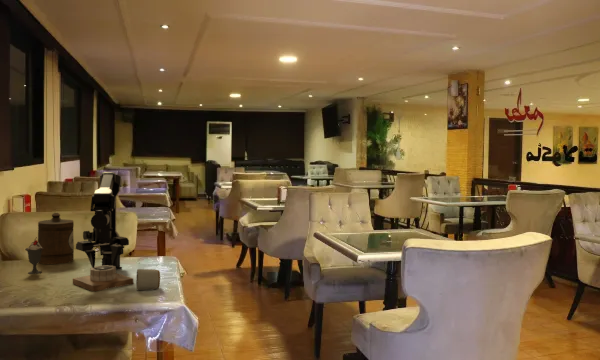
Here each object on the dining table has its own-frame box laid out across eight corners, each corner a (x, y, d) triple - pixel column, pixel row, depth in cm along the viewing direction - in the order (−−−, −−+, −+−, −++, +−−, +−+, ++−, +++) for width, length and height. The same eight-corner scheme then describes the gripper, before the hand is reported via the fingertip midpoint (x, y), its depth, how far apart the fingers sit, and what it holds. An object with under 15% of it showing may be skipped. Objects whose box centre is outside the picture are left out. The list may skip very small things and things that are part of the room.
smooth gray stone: (106, 276, 202) (106, 266, 202) (112, 278, 199) (112, 268, 199) (93, 278, 198) (93, 267, 198) (100, 280, 195) (100, 269, 195)
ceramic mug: (160, 290, 190) (160, 270, 190) (137, 292, 187) (137, 271, 187) (157, 284, 200) (157, 264, 200) (135, 286, 197) (135, 265, 197)
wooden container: (79, 261, 237) (79, 213, 236) (46, 266, 226) (45, 215, 225) (64, 256, 247) (64, 210, 246) (32, 260, 236) (31, 212, 235)
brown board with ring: (111, 276, 210) (111, 261, 210) (133, 283, 200) (133, 268, 199) (72, 283, 198) (72, 267, 198) (93, 291, 188) (93, 275, 187)
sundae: (36, 275, 210) (36, 238, 209) (21, 274, 211) (21, 237, 210) (47, 271, 216) (47, 235, 215) (33, 270, 217) (32, 234, 217)
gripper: (114, 220, 210) (114, 259, 211) (68, 225, 196) (69, 266, 197) (129, 223, 203) (129, 263, 203) (83, 228, 189) (83, 271, 189)
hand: (103, 265), depth 198 cm, fingers open, 8 cm apart
